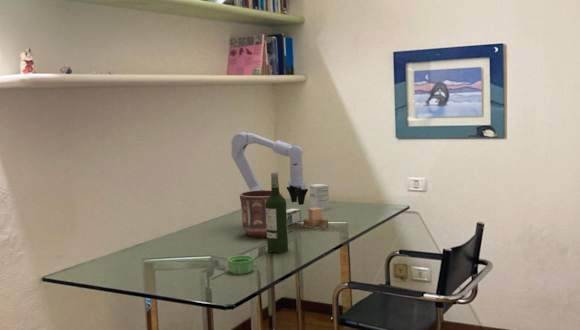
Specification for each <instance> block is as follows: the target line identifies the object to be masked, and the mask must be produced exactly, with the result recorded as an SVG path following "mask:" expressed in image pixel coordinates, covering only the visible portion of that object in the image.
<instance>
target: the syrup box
mask: <svg viewBox="0 0 580 330" xmlns="http://www.w3.org/2000/svg"><path fill="white" fill-rule="evenodd" d="M286 211H287V226H290V225H293V224H295V223H294V222H296V223H299V222H298V221H300V222H303V221H302V217H303V215H302V209H301V208H289V209H286ZM292 223H293V224H292Z"/></svg>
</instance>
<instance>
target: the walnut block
mask: <svg viewBox="0 0 580 330" xmlns="http://www.w3.org/2000/svg"><path fill="white" fill-rule="evenodd" d="M302 222H303V227H304V226H308V227H311V228H315V227H323V226H328V227H329V219H326V218H323V217H322V220H317V221H312V220H309V218H305V219H303V221H302ZM311 228H310V229H311Z"/></svg>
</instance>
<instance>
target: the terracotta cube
mask: <svg viewBox="0 0 580 330" xmlns="http://www.w3.org/2000/svg"><path fill="white" fill-rule="evenodd" d="M307 209H308V219H309V220H312V221H317V220H322V218H323V210H322V209H321V208H318V207H316V208H310V207H309V208H307Z"/></svg>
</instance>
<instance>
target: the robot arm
mask: <svg viewBox="0 0 580 330" xmlns="http://www.w3.org/2000/svg"><path fill="white" fill-rule="evenodd" d="M230 144H231V157H232V159H233V162H234V164H236V167H237V169H238V170H239V172H240V174H241V176H242V178H243V180H244V182H245V183H246V185H247V187H248V189H249V191H259V190H265V189H264V187H263V186H262V185H261V184H260V183H259V180H258V179H257V176H256V174H255V173H254V171H253V169H252V167H251V166H250V164H249V162H248V160H247V158H246V157H245V151H246V148H247V146H248V145H251V144H252V145H253V144H257V145H259V146H263V147H266V148H269V149H272V150H273V153H275V154H278V155H281V156H283V157H287V158H288V159H289V176H290V178H289V179H290V180H289V181H288V186H286V189H287V191H288V193H289V197H290V201H291V203H297V202H298V206H299V205H300V206H302V205H304V204H305V198H306V197H307V196H306V195H307V192H308V190H309V189H308V188H306V187H307V186H306V183H307V182H305V181H304V169H303V168H304V167H303V165H304V164H303V157H302V156H303V153H304V152H303V149H302V147H300V146H299V145H294V144H293V143H287V142H285V141H284V140H283V139H280V140H278V139H277V140H275V141H273V140H270V139H268V138H266V137H263V136H260V135H258V134H255V133H252V132H247V131H240V132H236V133H235V134H234V135H233V137H232V139H231V141H230Z"/></svg>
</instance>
